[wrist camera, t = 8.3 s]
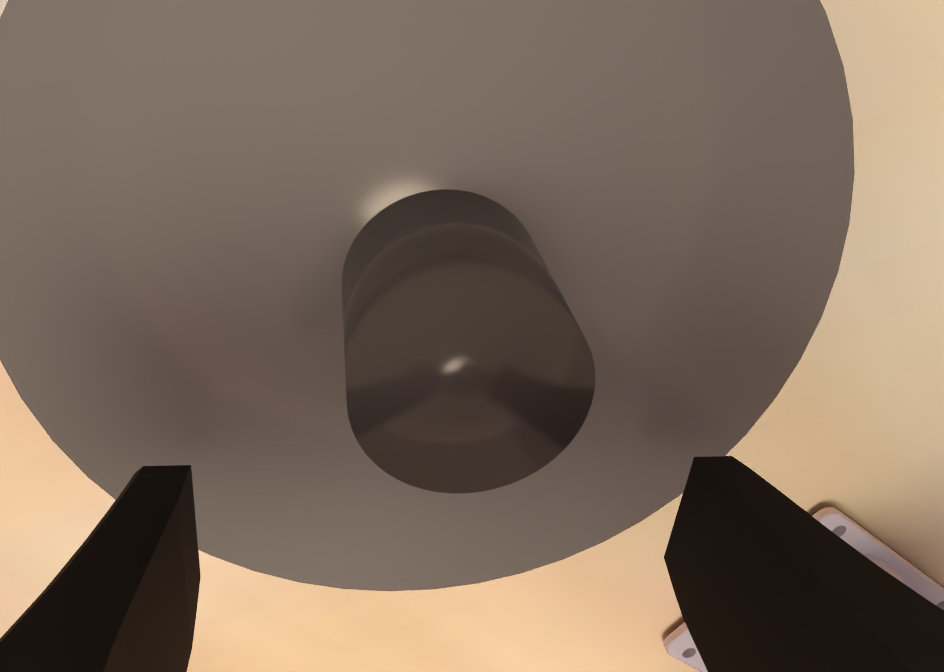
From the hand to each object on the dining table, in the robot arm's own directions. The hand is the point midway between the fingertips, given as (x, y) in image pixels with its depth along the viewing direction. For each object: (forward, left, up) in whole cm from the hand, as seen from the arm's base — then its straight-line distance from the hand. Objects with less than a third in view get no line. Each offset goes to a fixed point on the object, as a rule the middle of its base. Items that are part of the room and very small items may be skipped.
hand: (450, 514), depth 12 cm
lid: (+2, -2, -3) cm, 4 cm away
